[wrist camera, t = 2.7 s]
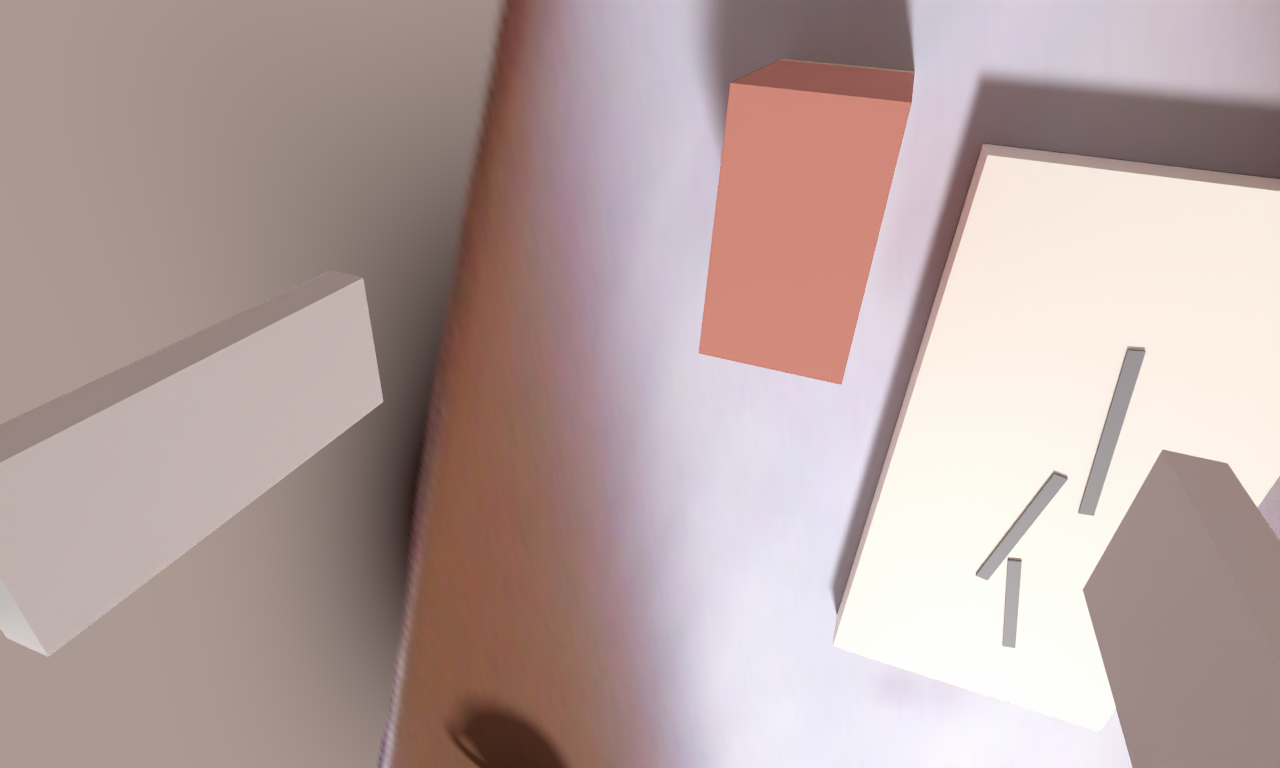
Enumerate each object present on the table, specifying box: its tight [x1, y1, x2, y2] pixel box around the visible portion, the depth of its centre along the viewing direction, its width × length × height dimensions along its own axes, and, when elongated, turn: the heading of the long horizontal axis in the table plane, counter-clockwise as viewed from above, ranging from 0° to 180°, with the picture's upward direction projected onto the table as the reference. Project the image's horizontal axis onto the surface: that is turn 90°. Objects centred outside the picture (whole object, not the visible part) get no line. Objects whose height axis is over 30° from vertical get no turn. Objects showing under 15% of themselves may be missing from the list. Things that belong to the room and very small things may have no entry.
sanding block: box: [699, 59, 915, 384], centre depth 22 cm, size 8×4×8 cm, turn 176°
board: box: [833, 144, 1280, 732], centre depth 27 cm, size 24×12×2 cm, turn 176°
